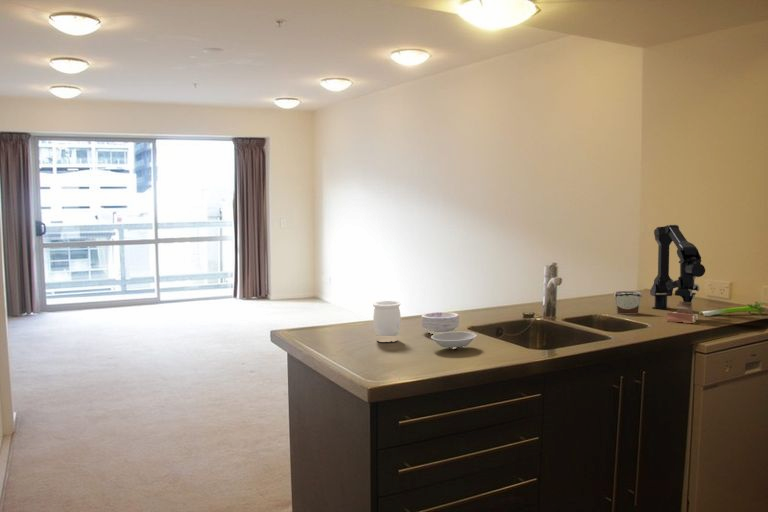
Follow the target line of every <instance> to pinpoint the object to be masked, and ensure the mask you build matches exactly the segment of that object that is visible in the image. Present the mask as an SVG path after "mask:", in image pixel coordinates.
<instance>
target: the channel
mask: <svg viewBox="0 0 768 512" xmlns="http://www.w3.org/2000/svg"><path fill="white" fill-rule="evenodd" d="M696 320H697V321H698V320H699V313H693V314H685V313H677V311H673V312H671V311H667V312H666V322H667V321H672V322H671V323H677V322H683V323H682V324H687V323H693V322H694V323H696V322H697V321H696ZM694 323H693V324H694Z"/></svg>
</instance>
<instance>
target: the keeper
mask: <svg viewBox="0 0 768 512" xmlns="http://www.w3.org/2000/svg"><path fill="white" fill-rule="evenodd" d="M676 312H677V313H685V314H693V315H694V308H693V301H692V302H684V301H682V300H681V301H679V302H678V305H677V307H676Z"/></svg>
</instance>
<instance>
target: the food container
mask: <svg viewBox="0 0 768 512" xmlns="http://www.w3.org/2000/svg"><path fill="white" fill-rule="evenodd" d="M613 297H614V298H615V305H616V306H615V308H616V314H617V315H639V311H640V303H641V302H640V301H641V298H642V297H643V296H642V293H641V291H640V292H639V291H632V290H619V291H616V292H614V295H613Z"/></svg>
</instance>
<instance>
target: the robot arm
mask: <svg viewBox="0 0 768 512" xmlns="http://www.w3.org/2000/svg"><path fill="white" fill-rule="evenodd" d="M653 235H654V240H655V242H656V243H657V245H658V251H657V252H658V254H657V256H658V257H657V275H656V277H655V278H654V280H653V285H652V286H651V288H650V290H649V292H650V293H649V295H650V296H653V297H654V306H652V308H651V309H655V308H658V309H657V310H668V309H670V308H669V307H670V306H668V297H672V296H673V293H674V296H678V297H681V299H682V302H692V303H693V301H694V298H695V296H696V294H697V292H699V291H700V286H699V285H698V284H697V283H696V284H695V281H696V280H695V279H696V278H700V277H703V276H704V275H705V274H706V267H705V266H704V265H703V264H702V257H701V254H700V252H699V249H698V248H697V246H696V245H695V244H693V243H692V242H690V241H688V240H687V238H686V237H685V236H684V234H683V233H682V231H681V230H680V227H679V224H668V225H665V226H657V227H656V228H655V229H654V230H653ZM672 242H673V243H674V246H675V247H676V248H677V249H676V254H677V257H678V258H679V261H678V264H679V276H678V278H677V279H675V280H674V279H672V278H671V276H670V245H671V244H672ZM676 288H677V289H676ZM674 289H676V290H674ZM693 291H696V292H693Z"/></svg>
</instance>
